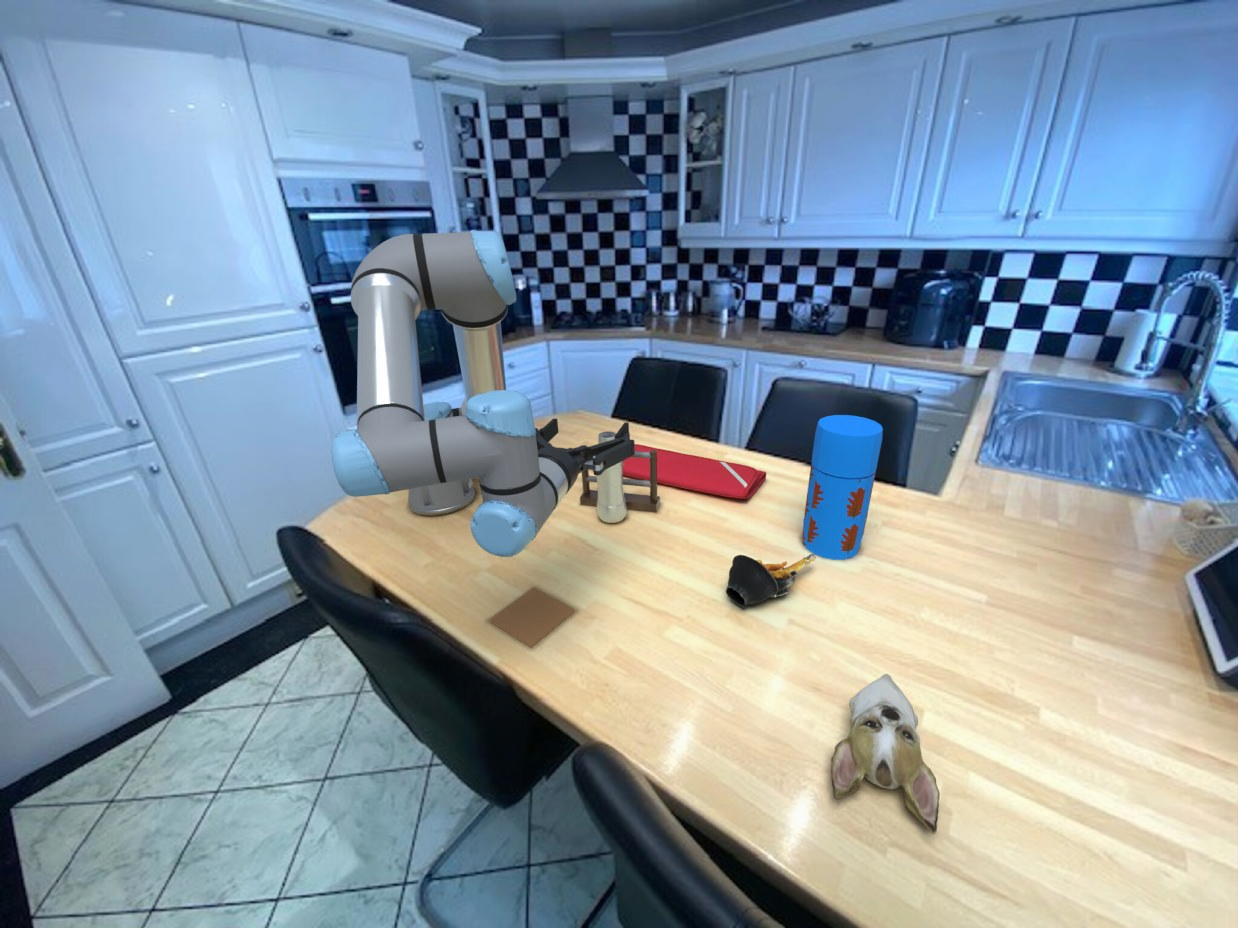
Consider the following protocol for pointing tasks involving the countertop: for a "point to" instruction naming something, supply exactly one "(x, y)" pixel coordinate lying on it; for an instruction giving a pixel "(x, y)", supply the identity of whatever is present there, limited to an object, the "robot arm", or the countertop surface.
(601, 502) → the silver water bottle
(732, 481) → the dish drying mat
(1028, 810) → the countertop surface
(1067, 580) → the countertop surface
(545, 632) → the coaster
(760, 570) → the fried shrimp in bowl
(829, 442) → the thermos
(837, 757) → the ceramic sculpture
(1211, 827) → the countertop surface
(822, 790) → the countertop surface
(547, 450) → the robot arm
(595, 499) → the rail rack
